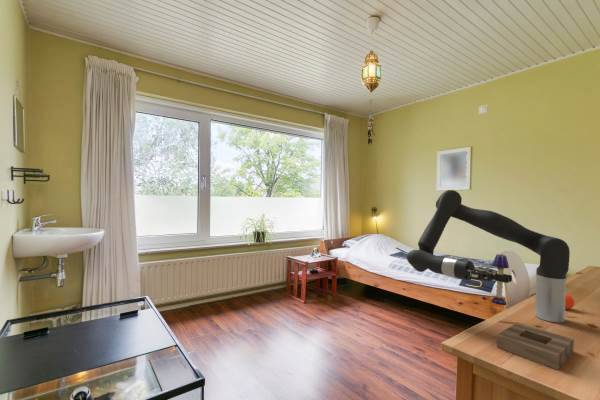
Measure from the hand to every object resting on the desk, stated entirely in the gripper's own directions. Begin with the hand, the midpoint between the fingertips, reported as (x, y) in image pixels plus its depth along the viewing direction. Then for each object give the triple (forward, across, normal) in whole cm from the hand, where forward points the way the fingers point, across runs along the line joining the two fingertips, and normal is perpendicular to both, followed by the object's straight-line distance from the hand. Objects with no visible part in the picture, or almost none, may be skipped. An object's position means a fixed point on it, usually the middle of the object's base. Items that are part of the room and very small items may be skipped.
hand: (510, 279), depth 99 cm
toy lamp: (-3, 0, +9) cm, 10 cm away
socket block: (+7, 0, +21) cm, 22 cm away
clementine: (+2, +60, +21) cm, 64 cm away
